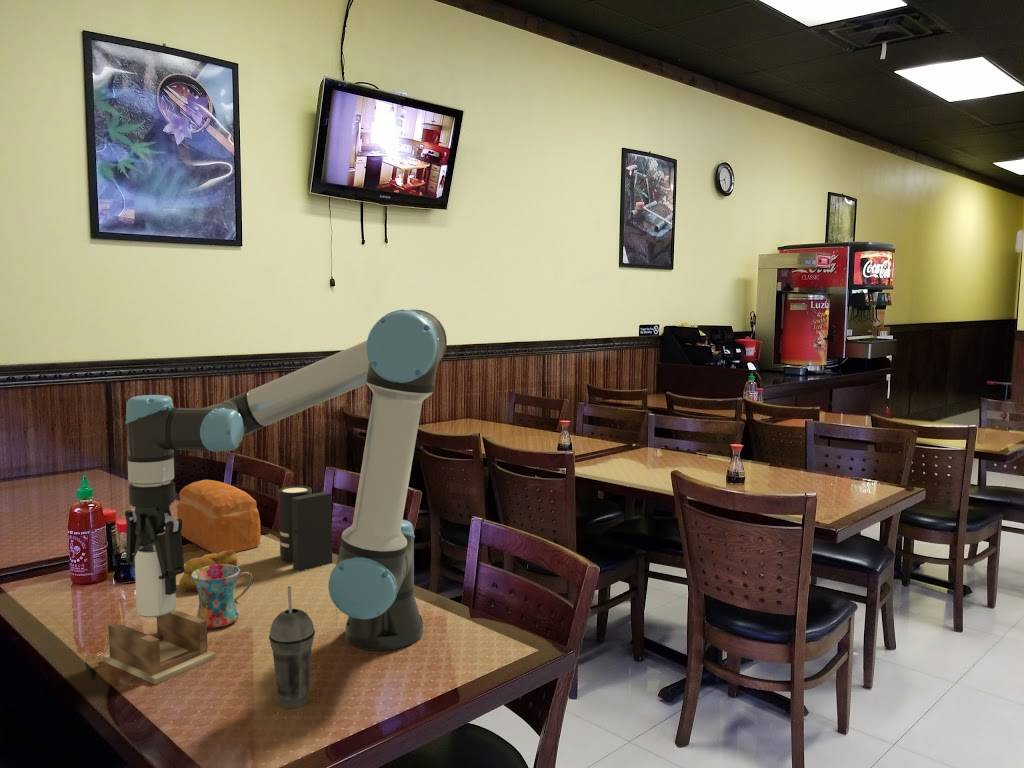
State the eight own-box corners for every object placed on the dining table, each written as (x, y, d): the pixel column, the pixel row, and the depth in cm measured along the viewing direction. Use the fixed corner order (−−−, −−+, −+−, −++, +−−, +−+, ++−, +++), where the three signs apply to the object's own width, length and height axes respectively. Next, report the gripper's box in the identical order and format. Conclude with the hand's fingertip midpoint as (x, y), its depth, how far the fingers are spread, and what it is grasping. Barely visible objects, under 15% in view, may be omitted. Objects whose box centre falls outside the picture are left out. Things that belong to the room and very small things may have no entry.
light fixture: (306, 549, 208) (305, 483, 206) (333, 562, 198) (332, 493, 196) (271, 557, 201) (269, 489, 199) (297, 571, 191) (296, 499, 189)
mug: (200, 635, 155) (198, 583, 154) (187, 620, 162) (185, 570, 161) (261, 620, 162) (259, 570, 161) (245, 606, 170) (244, 558, 168)
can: (164, 601, 148) (162, 539, 147) (182, 610, 144) (180, 546, 143) (130, 611, 143) (127, 547, 142) (147, 621, 139) (144, 555, 138)
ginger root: (187, 597, 174) (185, 562, 174) (169, 586, 181) (168, 552, 181) (242, 583, 184) (241, 549, 183) (224, 572, 190) (222, 540, 190)
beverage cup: (320, 690, 134) (318, 576, 132) (311, 712, 126) (308, 592, 124) (277, 690, 133) (274, 576, 131) (265, 713, 126) (261, 592, 124)
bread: (222, 526, 229) (220, 472, 228) (264, 546, 210) (263, 488, 209) (174, 535, 220) (172, 479, 218) (214, 558, 201) (212, 497, 199)
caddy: (215, 658, 145) (214, 621, 144) (155, 684, 135) (154, 645, 134) (162, 637, 154) (161, 603, 153) (102, 661, 144) (100, 624, 143)
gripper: (204, 485, 139) (207, 611, 141) (139, 471, 149) (143, 588, 152) (166, 494, 133) (170, 625, 135) (100, 478, 143) (105, 601, 145)
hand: (156, 606), depth 143 cm, fingers closed on can, 6 cm apart
